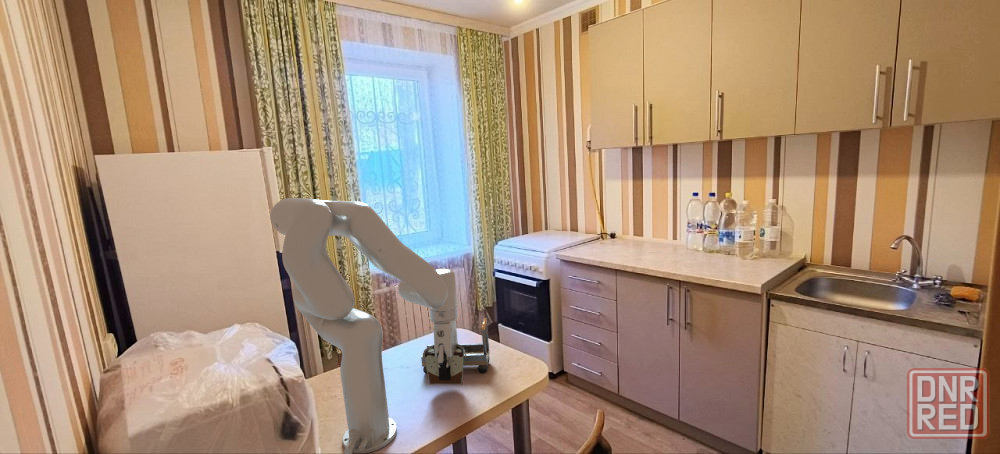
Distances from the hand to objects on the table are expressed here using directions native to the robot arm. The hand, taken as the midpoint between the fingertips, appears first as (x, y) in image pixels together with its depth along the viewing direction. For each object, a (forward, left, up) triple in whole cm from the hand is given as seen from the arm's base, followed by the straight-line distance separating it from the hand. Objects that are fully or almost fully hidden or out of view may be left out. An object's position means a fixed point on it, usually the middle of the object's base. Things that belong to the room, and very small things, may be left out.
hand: (447, 374), depth 121 cm
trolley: (+12, -1, -5) cm, 13 cm away
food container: (0, 0, -2) cm, 2 cm away
